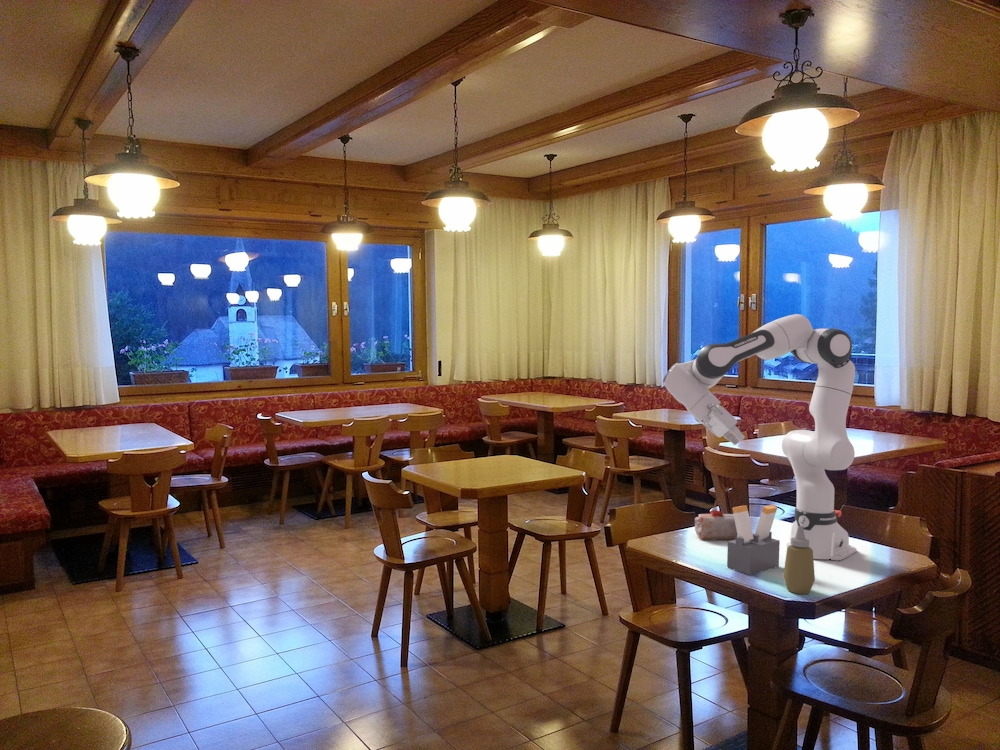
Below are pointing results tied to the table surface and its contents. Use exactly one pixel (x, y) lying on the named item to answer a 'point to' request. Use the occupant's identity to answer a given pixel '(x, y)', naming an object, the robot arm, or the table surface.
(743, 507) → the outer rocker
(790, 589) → the squeeze bottle
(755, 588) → the table surface
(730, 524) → the food item
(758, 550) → the grey holder block
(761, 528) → the orange-tipped white bar
